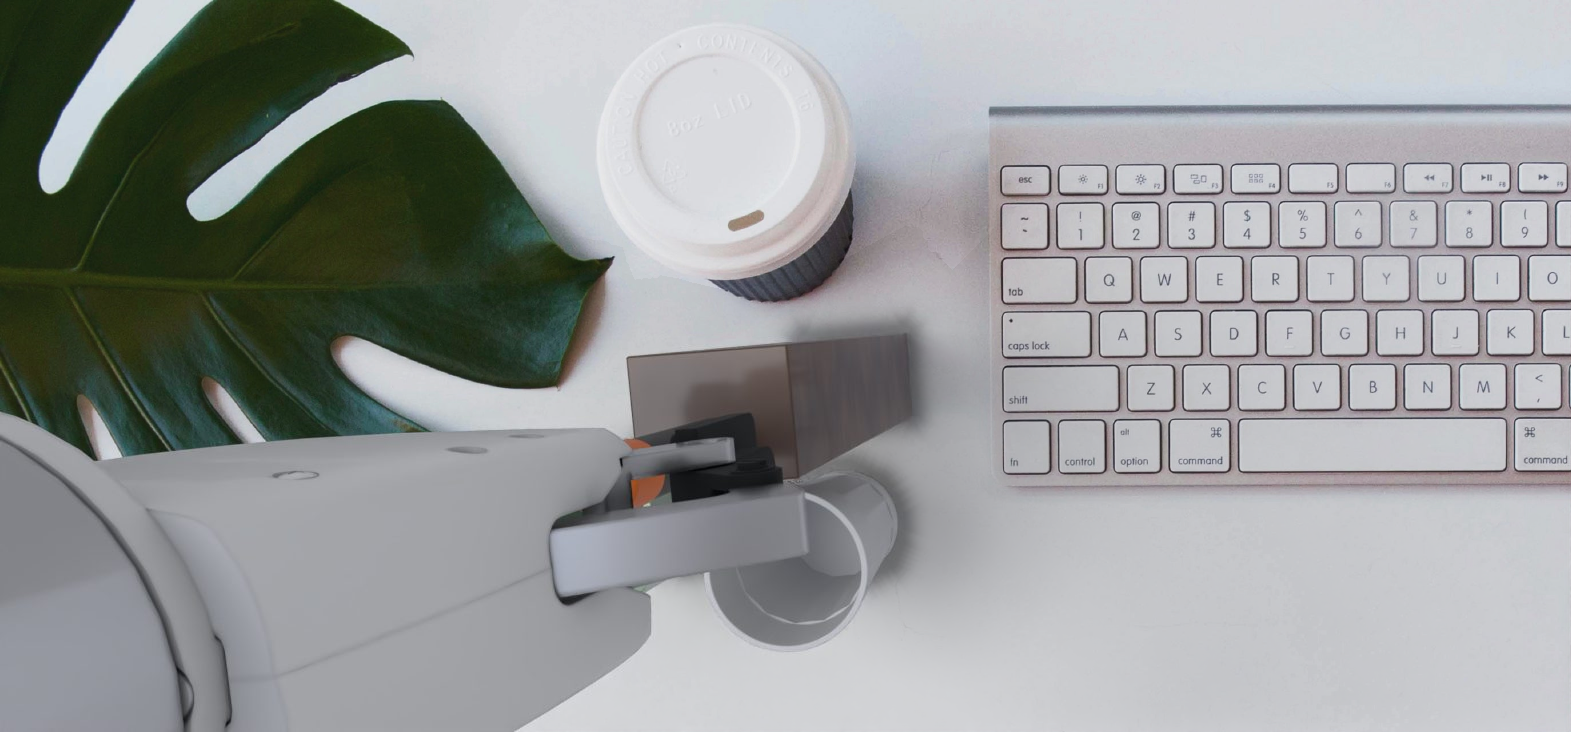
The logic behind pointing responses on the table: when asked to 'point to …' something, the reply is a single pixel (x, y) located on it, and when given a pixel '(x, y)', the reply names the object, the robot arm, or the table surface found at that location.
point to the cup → (812, 569)
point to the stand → (781, 393)
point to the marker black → (655, 485)
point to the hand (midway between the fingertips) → (567, 485)
